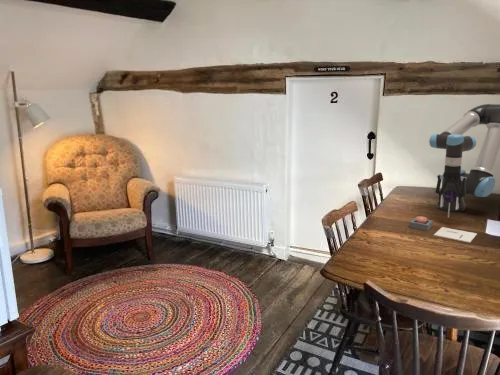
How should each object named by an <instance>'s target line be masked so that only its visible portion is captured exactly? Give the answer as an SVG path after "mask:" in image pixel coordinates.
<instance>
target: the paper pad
mask: <svg viewBox="0 0 500 375" xmlns="http://www.w3.org/2000/svg"><path fill="white" fill-rule="evenodd" d="M477 235H478V233H476V232H472V231H465V230H459V229H454V228H450V227H445V226H442V227H440V228H439V229H438V230H437V231H436V232H435V233H434V234H433V236H434V237H440V238H445V239H450V240H455V241H459V242H465V243H471V242H472V241H473V239H475V237H476V236H477Z"/></svg>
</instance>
